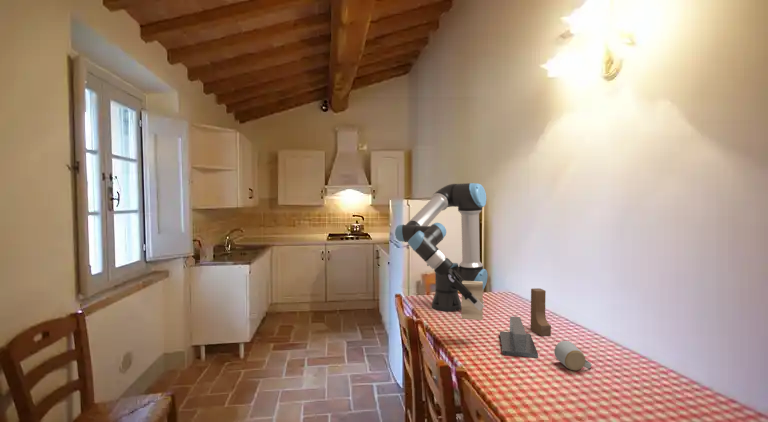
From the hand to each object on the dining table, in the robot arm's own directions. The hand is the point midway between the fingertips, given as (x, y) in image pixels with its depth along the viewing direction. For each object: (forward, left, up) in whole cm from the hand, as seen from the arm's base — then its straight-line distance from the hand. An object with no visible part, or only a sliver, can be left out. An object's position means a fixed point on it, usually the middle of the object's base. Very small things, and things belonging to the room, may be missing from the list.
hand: (481, 306), depth 155 cm
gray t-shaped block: (0, +13, -15) cm, 20 cm away
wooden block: (-18, +24, -15) cm, 34 cm away
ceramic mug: (+15, +30, -15) cm, 37 cm away
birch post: (0, -4, -5) cm, 6 cm away
